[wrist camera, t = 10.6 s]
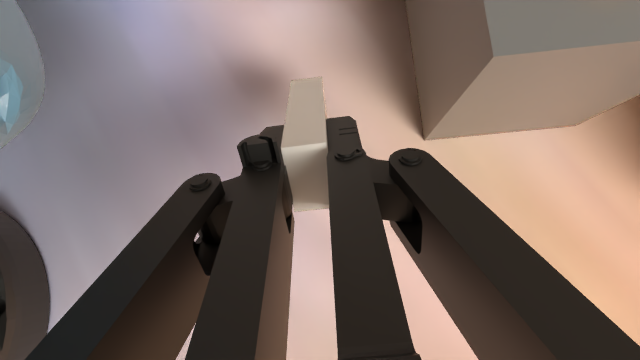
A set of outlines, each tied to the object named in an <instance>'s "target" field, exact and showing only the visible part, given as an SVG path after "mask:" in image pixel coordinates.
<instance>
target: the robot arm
mask: <svg viewBox="0 0 640 360" xmlns="http://www.w3.org/2000/svg"><path fill="white" fill-rule="evenodd" d="M44 90H45V70H44V64H43V60H42V56H41V52H40V49H39V46H38V43H37V41H36V38H35V36H34V34H33V31H32V29H31V27H30V25H29V23H28V21H27V19H26V18H25V16H24V14H23V12H22V10H21V9H20V7H19V5H18V4H17V2H16V0H0V149H1V148H3V147H4V146H5V145H6V144H7V143H9V142H10V141H11V140H12V139H13V138H15V137H16V136H17V135H18V134H19V133H21V132H22V131H23V130H24V129H25V128H26V127H27V126H28V125H29V124H30V122H31V121H32V119H33V118H34V117H35V115H36V113H37V112H38V110H39V108H40V105H41V102H42V99H43V96H44ZM237 149H238V152H239V155H240V159H241V162H242V165H243V169H242V173H241V175H240V176H238V177H236V178H233V179H230V180H227V181H223V182H221V179H220V177H219V176H218V175H217V174H213V173H202V174H199V175H195V176H193V177H192V178H190V179H188V180H187V181H185V182H184V183H183V184H182V185H181V186H180V187H179V188H178V189H177V191H176V192H175V193H174V194H173V195H172V196H171V197H170V198H169V199H168V201H167V202H166V203H165V204H164V205H163V206H162V207H161V208H160V209H159V211H158V212H157V213H156V214H155V215H154V216H153V217H152V218H151V219H150V221H149V222H148V223H147V224H146V225H145V226H144V227H143V228H142V229H141V231H140V232H139V233H138V234H137V235H136V236H135V237H134V238H133V239H132V241H131V242H130V243H129V244H128V245H127V246H126V247H125V248H124V249H123V251H122V252H121V253H120V254H119V255H118V256H117V257H116V258H115V259H114V261H113V262H112V263H111V264H110V265H109V266H108V267H107V268H106V269H105V271H104V272H103V273H102V274H101V275H100V276H99V277H98V278H97V279H96V281H95V282H94V283H93V284H92V285H91V286H90V287H89V288H88V289H87V291H86V292H85V293H84V294H83V295H82V296H81V297H80V298H79V299H78V301H77V302H76V303H75V304H74V305H73V306H72V307H71V308H70V309H69V311H68V312H67V313H66V314H65V315H64V316H63V317H62V318H61V319H60V321H59V322H58V323H57V324H56V325H55V326H54V327H53V328H52V329H51V331H50V332H49V333H48V334H47V329H48V322H49V303H50V300H49V288H48V281H47V276H46V272H45V269H44V265H43V262H42V260H41V257H40V255H39V253H38V251H37V249H36V247H35V245H34V243H33V242H32V240H31V239H30V237H29V236H28V234H27V233H26V232H25V231H24V230H23V228H22V227H21V226H20V225H19V224H18V223H17V222H16V221H14V220H13V219H12V218H11V217H9V216H8V215H7V214H5V213H4V212H2V211H0V360H175V359H176V358H177V356H178V354H179V352H180V350H181V349H182V347H183V345H184V343H185V341H186V339H187V338H188V336H189V334H190V332H191V330H192V329H193V327H194V325H195V323H196V325H195V328H194V331H193V334H192V338H191V341H190V344H189V348H188V351H187V354H186V358H185V360H286V350H287V334H288V318H289V301H290V285H291V268H292V252H293V236H294V217H293V213H292V204H293V207H294V211H295V212H299V211H308V210H317V209H326V208H329V210H330V227H331V244H332V261H333V278H334V295H335V313H336V330H337V347H338V360H421V357H420V355H419V354H417V353H416V352H415V349H414V346H413V343H412V339H411V335H410V331H409V327H408V323H407V318H406V314H405V310H404V306H403V302H402V298H401V294H400V290H399V286H398V282H397V278H396V274H395V270H394V266H393V262H392V257H391V253H390V249H389V245H388V241H387V237H386V233H385V229H384V225H383V221H382V220H390V224H391V227H392V228H393V230H394V231H395V233H396V234H397V236H398V237H399V239H400V241H401V242H402V244H403V245H404V247H405V248H406V250H407V251H408V253H409V254H410V256H411V257H412V259H413V260H414V262H415V263H416V265H417V266H418V268H419V269H420V271H421V272H422V274H423V276H424V277H425V279H426V280H427V282H428V283H429V285H430V286H431V288H432V289H433V291H434V292H435V294H436V295H437V297H438V298H439V300H440V301H441V303H442V304H443V306H444V307H445V309H446V311H447V312H448V314H449V315H450V317H451V318H452V320H453V321H454V323H455V324H456V326H457V327H458V329H459V330H460V332H461V333H462V335H463V336H464V338H465V339H466V341H467V343H468V344H469V346H470V347H471V349H472V350H473V352H474V353H475V355H476V356H477V358H478V359H479V360H640V346H639V345H638V344H636V343H635V342H634V341H633V340H632V339H631V338H630V337H629V336H628V335H627V334H626V333H624V332H623V331H622V330H621V329H620V328H619V327H618V326H617V325H616V324H615V323H614V322H612V321H611V320H610V319H609V318H608V317H607V316H606V315H605V314H604V313H603V312H602V311H600V310H599V309H598V308H597V307H596V306H595V305H594V304H593V303H592V302H591V301H590V300H588V299H587V298H586V297H585V296H584V295H583V294H582V293H581V292H580V291H579V290H578V289H576V288H575V287H574V286H573V285H572V284H571V283H570V282H569V281H568V280H567V279H565V278H564V277H563V276H562V275H561V274H560V273H559V272H558V271H557V270H556V269H555V268H553V267H552V266H551V265H550V264H549V263H548V262H547V261H546V260H545V259H544V258H543V257H541V256H540V255H539V254H538V253H537V252H536V251H535V250H534V249H533V248H532V247H531V246H529V245H528V244H527V243H526V242H525V241H524V240H523V239H522V238H521V237H520V236H519V235H517V234H516V233H515V232H514V231H513V230H512V229H511V228H510V227H509V226H508V225H506V224H505V223H504V222H503V221H502V220H501V219H500V218H499V217H498V216H497V215H496V214H494V213H493V212H492V211H491V210H490V209H489V208H488V207H487V206H486V205H485V204H484V203H482V202H481V201H480V200H479V199H478V198H477V197H476V196H475V195H474V194H473V193H472V192H470V191H469V190H468V189H467V188H466V187H465V186H464V185H463V184H462V183H461V182H460V181H458V180H457V179H456V178H455V177H454V176H453V175H452V174H451V173H450V172H449V171H448V170H446V169H445V168H444V167H443V166H442V165H441V164H440V163H439V162H438V161H437V160H435V159H434V158H433V157H432V156H431V155H430V154H429V153H427V152H425V151H423V150H419V149H415V148H407V149H401V150H398V151H396V152H394V153H393V154H391V155H390V158H389V161H384V160H376V159H373V158H370V157H368V156H367V155H366V152H365V151H364V149H362V145H361V141H360V137H359V133H358V129H357V125H356V121H355V120H354V119H353V118H351V117H350V116H346V117H338V118H329V119H327V113H326V105H325V97H324V89H323V81H322V77H315V78H308V79H300V80H292V81H291V85H290V91H289V97H288V104H287V110H286V117H285V123H284V125H280V126H272V127H266V128H265V129H264V130H263V131H262V132H261V133H260V135H255V136H251V137H248V138H246V139H244V140H243V141H241V142H240V143H239V144H238V145H237ZM197 233H198V234H199V236H200V237H199V238H198V239H197V241H196V242H194V238H195V236H196V234H197ZM46 334H47V335H46Z"/></svg>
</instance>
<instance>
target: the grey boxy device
mask: <svg viewBox="0 0 640 360" xmlns="http://www.w3.org/2000/svg"><path fill="white" fill-rule="evenodd" d="M405 4H406V11H407V18H408V26H409V33H410V40H411V47H412V55H413V62H414V69H415V76H416V84H417V91H418V98H419V105H420V113H421V120H422V127H423V134H424V140H434V139H445V138H455V137H465V136H475V135H486V134H496V133H506V132H517V131H527V130H537V129H547V128H558V127H568V126H576V125H578V124H580V123H582V122H584V121H586V120H588V119H590V118H593V117H595V116H597V115H599V114H601V113H603V112H605V111H607V110H609V109H611V108H613V107H615V106H617V105H620V104H622V103H624V102H626V101H628V100H630V99H632V98H634V97H636V96H638V95H640V0H405Z"/></svg>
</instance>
